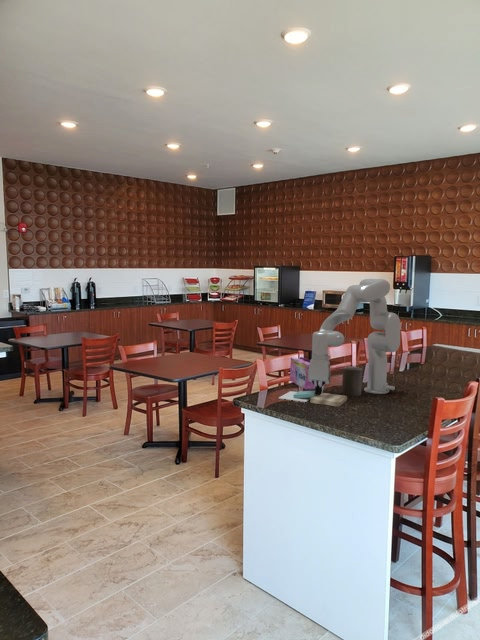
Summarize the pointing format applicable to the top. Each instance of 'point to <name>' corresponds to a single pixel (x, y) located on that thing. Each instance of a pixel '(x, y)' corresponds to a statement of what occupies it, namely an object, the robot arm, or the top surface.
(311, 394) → the teal card
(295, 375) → the pink purple printed box
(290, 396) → the grey mat
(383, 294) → the robot arm
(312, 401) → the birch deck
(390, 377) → the top surface
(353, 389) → the dark brown cylinder
